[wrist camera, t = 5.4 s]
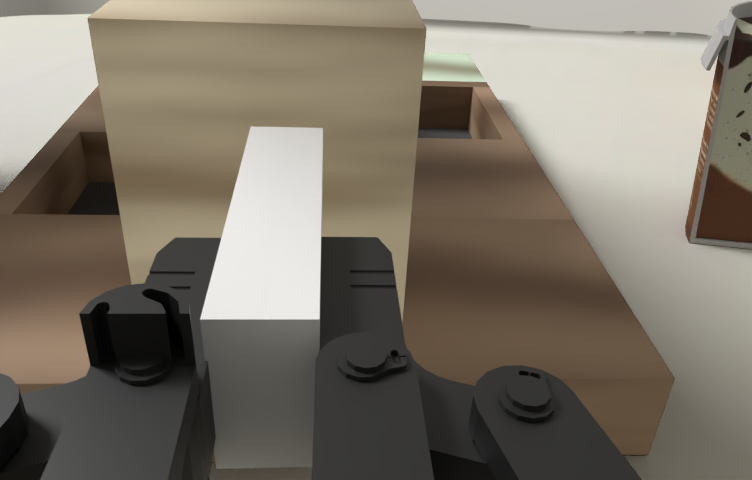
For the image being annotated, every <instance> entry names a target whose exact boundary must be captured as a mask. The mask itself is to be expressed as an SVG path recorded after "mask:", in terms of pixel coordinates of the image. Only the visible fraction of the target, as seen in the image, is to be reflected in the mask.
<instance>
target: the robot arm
mask: <svg viewBox="0 0 752 480" xmlns="http://www.w3.org/2000/svg"><path fill="white" fill-rule="evenodd" d="M322 206H323V128H301V127H253V126H251V127H250V131H249V135H248V139H247V143H246V146H245V150H244V154H243V158H242V162H241V165H240V169H239V173H238V177H237V181H236V184H235V188H234V192H233V196H232V200H231V203H230V207H229V211H228V215H227V219H226V222H225V226H224V230H223V234H222V238H182V237H175V238H174V239H173V240H172V241H171V242H169V243H168V244H167V245H166V246H165V247H163V248H162V249H161V250H160V251H159V252H157V254H156V256H155V259H154V261H153V263H152V266H151V268H150V271H149V275H148V276H147V278H146V281H145V283H142V284H133V285H125V286H122V287H119V288H116V289H112V290H109V291H106V292H104V293H103V294H101V295H99V296H98V297H96V298H94V299H93V300H91V301H89V303H88V304H87V305H86V306H85V307H84V308H83V310H82V311H81V312H80V313H79V316H80V320H81V325H82V329H83V334H84V339H85V343H86V348H87V352H88V357H89V362H90V368H89V370H88V372H87V375H86V376H84V377H82V378H80V379H78V380H76V381H72V382H69V383H66V384H62V385H59V386H55V387H50V388H46V389H41V390H37V391H32V392H28V393H24V394H21V393H20V390H19V387H18V386H17V384H16V383H15V382H14V381H13V380H12V378H11V377H9V376H7V375H4V374H1V373H0V480H210V479H209V472H210V466H211V461H212V455H213V450H214V455H215V465H216V469H242V468H305V467H312V480H642V479H641V478H640V477H639V476H638V474H637V473H636V472H635V470H634V469H633V468H632V467H631V465H630V464H629V463H628V461H627V460H626V459H625V458H624V456H623V455H622V454H621V452H620V451H619V450H618V449H617V447H616V446H615V445H614V443H613V442H612V441H611V439H610V438H609V437H608V436H607V434H606V433H605V432H604V430H603V429H602V428H601V427H600V425H599V424H598V423H597V421H596V420H595V419H594V418H593V416H592V415H591V414H590V412H589V411H588V410H587V409H586V407H585V406H584V405H583V403H582V402H581V401H580V399H579V398H578V397H577V396H576V394H575V393H574V392H573V391H572V390H571V389H570V388H569V387H568V386H567V385H566V384H565V383H564V382H563V381H561V380H560V379H559V378H557V377H555V376H553V375H551V374H549V373H547V372H545V371H543V370H541V369H537V368H532V367H528V366H523V365H513V366H501V367H498V368H495V369H493V370H490V371H487V372H486V373H485V374H484V375H483V376H482V377H481V378H480V379H479V380H478V381H477V382H476V386H473V385H469V384H465V383H460V382H456V381H452V380H449V379H446V378H442V377H439V376H437V375H435V374H433V373H431V372H429V371H427V370H425V369H424V368H423V367H421V366H420V365H419V364H418V363H417V362H415V361H414V359H413V357H412V355H411V352H410V351H409V350H408V349H407V347H406V344H405V339H404V333H403V326H402V319H401V312H400V306H399V299H398V292H397V289H396V279H395V274H394V266H393V259H392V253H391V252H390V250H389V249H388V248H387V247H386V246H385V245H384V244H383V243H382V242H381V240H380V239H379V238H378V237H322Z"/></svg>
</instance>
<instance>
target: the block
mask: <svg viewBox="0 0 752 480" xmlns="http://www.w3.org/2000/svg"><path fill="white" fill-rule="evenodd" d="M88 24H89V30H90V36H91V42H92V48H93V54H94V60H95V66H96V72H97V79H98V85H99V91H100V97H101V103H102V109H103V115H104V121H105V127H106V133H107V139H108V145H109V151H110V157H111V164H112V170H113V176H114V182H115V188H116V194H117V200H118V206H119V212H120V218H121V224H122V230H123V236H124V242H125V249H126V255H127V261H128V267H129V273H130V279H131V285H133V284H142V283H145V281H146V278H147V276H148V275H149V271H150V268H151V266H152V263H153V261H154V259H155V256H156V254H157V252H159V251H160V250H161V249H162V248H163V247H165V246H166V245H167V244H168V243H169V242H171V241H172V240H173V239H174V238H175V237H182V238H222V234H223V230H224V226H225V222H226V219H227V215H228V211H229V207H230V203H231V200H232V196H233V192H234V188H235V184H236V181H237V177H238V173H239V169H240V165H241V162H242V158H243V154H244V150H245V146H246V143H247V139H248V135H249V131H250V127H251V126H253V127H301V128H323V206H322V237H378V238H379V239H380V240H381V242H382V243H383V244H384V245H385V246H386V247H387V248H388V249H389V250H390V252H391V253H392V259H393V266H394V274H395V279H396V289H397V292H398V299H399V306H400V312H401V319H402V321H403V309H404V297H405V285H406V272H407V260H408V248H409V235H410V223H411V211H412V198H413V186H414V174H415V162H416V149H417V137H418V125H419V112H420V100H421V88H422V75H423V63H424V51H425V38H426V27H425V25H424V23H423V21H422V19H421V17H420V15H419V13H418V11H417V9H416V7H415V5H414V3H413V1H412V0H110V1H109V2H108V3H106V4H105V5H104V6H102V7H101V8H100V9H98V10H97V11H96V12H95V13H93V14H92V15H91V16H89V17H88Z"/></svg>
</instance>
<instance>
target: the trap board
mask: <svg viewBox="0 0 752 480" xmlns="http://www.w3.org/2000/svg"><path fill="white" fill-rule="evenodd" d="M125 285H131V279H130V273H129V267H128V261H127V255H126V249H125V242H124V236H123V230H122V224H121V218H120V212H119V206H118V200H117V194H116V188H115V182H114V176H113V170H112V164H111V157H110V151H109V145H108V139H107V133H106V127H105V121H104V115H103V109H102V103H101V97H100V91H99V85H98V86H97V88H96V89H95V90H94V91H93V92H92V93H91V94H90V95H89V96H88V98H87V99H86V100H85V101H84V102H83V103H82V104H81V105H80V106H79V108H78V109H77V110H76V111H75V112H74V113H73V114H72V115H71V117H70V118H69V119H68V120H67V121H66V122H65V123H64V124H63V125H62V127H61V128H60V129H59V130H58V131H57V132H56V133H55V134H54V135H53V137H52V138H51V139H50V140H49V141H48V142H47V143H46V144H45V145H44V147H43V148H42V149H41V150H40V151H39V152H38V153H37V154H36V156H35V157H34V158H33V159H32V160H31V161H30V162H29V163H28V164H27V166H26V167H25V168H24V169H23V170H22V171H21V172H20V173H19V174H18V176H17V177H16V178H15V179H14V180H13V181H12V182H11V183H10V184H9V186H8V187H7V188H6V189H5V190H4V191H3V192H2V193H1V194H0V373H1V374H4V375H7V376H9V377H11V378H12V380H13V381H14V382H15V383H16V384H17V386H18V387H19V390H20V393H21V394H24V393H28V392H32V391H37V390H41V389H46V388H50V387H55V386H59V385H62V384H66V383H69V382H72V381H76V380H78V379H80V378H82V377H84V376H86V375H87V372H88V370H89V368H90V362H89V357H88V352H87V348H86V343H85V339H84V334H83V329H82V325H81V320H80V316H79V313H80V312H81V311H82V310H83V308H84V307H85V306H86V305H87V304H88V303H89V301H91V300H93V299H94V298H96V297H98V296H99V295H101V294H103V293H104V292H106V291H109V290H112V289H116V288H119V287H122V286H125ZM402 326H403V333H404V339H405V344H406V347H407V349H408V350H409V351H410V352H411V355H412V357H413V359H414V361H415V362H417V363H418V364H419V365H420V366H421V367H423V368H424V369H425V370H427V371H429V372H431V373H433V374H435V375H437V376H439V377H442V378H446V379H449V380H452V381H456V382H460V383H465V384H469V385H473V386H476V382H477V381H478V380H479V379H480V378H481V377H482V376H483V375H484V374H485V373H486V372H487V371H490V370H493V369H495V368H498V367H501V366H513V365H523V366H528V367H532V368H537V369H541V370H543V371H545V372H547V373H549V374H551V375H553V376H555V377H557V378H559V379H560V380H561V381H563V382H564V383H565V384H566V385H567V386H568V387H569V388H570V389H571V390H572V391H573V392H574V393H575V394H576V396H577V397H578V398H579V399H580V401H581V402H582V403H583V405H584V406H585V407H586V409H587V410H588V411H589V412H590V414H591V415H592V416H593V418H594V419H595V420H596V421H597V423H598V424H599V425H600V427H601V428H602V429H603V430H604V432H605V433H606V434H607V436H608V437H609V438H610V439H611V441H612V442H613V443H614V445H615V446H616V447H617V449H618V450H619V451H620V452H621V454H622V455H648V453H649V450H650V447H651V444H652V442H653V439H654V436H655V433H656V430H657V427H658V424H659V422H660V419H661V416H662V413H663V410H664V407H665V405H666V402H667V399H668V396H669V393H670V390H671V388H672V385H673V382H674V379H675V378H674V376H673V375H672V373H671V372H670V370H669V369H668V367H667V365H666V364H665V362H664V361H663V359H662V358H661V356H660V354H659V353H658V351H657V350H656V348H655V347H654V345H653V343H652V342H651V340H650V339H649V337H648V336H647V334H646V332H645V331H644V329H643V328H642V326H641V325H640V323H639V321H638V320H637V318H636V317H635V315H634V314H633V312H632V310H631V309H630V307H629V306H628V304H627V303H626V301H625V299H624V298H623V296H622V295H621V293H620V292H619V290H618V288H617V287H616V285H615V284H614V282H613V281H612V279H611V277H610V276H609V274H608V273H607V271H606V270H605V268H604V266H603V265H602V263H601V262H600V260H599V259H598V257H597V255H596V254H595V252H594V251H593V249H592V248H591V246H590V244H589V243H588V241H587V240H586V238H585V237H584V235H583V233H582V232H581V230H580V229H579V227H578V226H577V224H576V222H575V221H574V219H573V218H572V216H571V215H570V213H569V211H568V210H567V208H566V207H565V205H564V204H563V202H562V200H561V199H560V197H559V196H558V194H557V193H556V191H555V189H554V188H553V186H552V185H551V183H550V182H549V180H548V178H547V177H546V175H545V174H544V172H543V170H542V169H541V167H540V166H539V164H538V163H537V161H536V159H535V158H534V156H533V155H532V153H531V152H530V150H529V148H528V147H527V145H526V144H525V142H524V141H523V139H522V137H521V136H520V134H519V133H518V131H517V130H516V128H515V126H514V125H513V123H512V122H511V120H510V119H509V117H508V115H507V114H506V112H505V111H504V109H503V108H502V106H501V104H500V103H499V101H498V100H497V98H496V97H495V95H494V93H493V92H492V90H491V89H490V87H489V86H488V84H487V82H486V81H485V79H484V78H483V76H482V75H481V73H480V71H479V70H478V68H477V67H476V65H475V64H474V62H473V60H472V59H471V57H470V56H469V54H442V53H424V63H423V75H422V88H421V100H420V112H419V125H418V137H417V149H416V162H415V174H414V186H413V198H412V211H411V223H410V235H409V248H408V260H407V272H406V285H405V297H404V309H403V321H402ZM211 462H215V455H214V450H213V455H212V461H211Z"/></svg>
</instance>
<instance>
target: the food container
mask: <svg viewBox="0 0 752 480" xmlns="http://www.w3.org/2000/svg"><path fill="white" fill-rule="evenodd" d="M718 54H719V55H718ZM717 56H718V60H717V65H716V70H715V75H714V81H713V86H712V91H711V96H710V101H709V107H708V112H707V117H706V122H705V127H704V133H703V138H702V143H701V148H700V153H699V159H698V164H697V169H696V174H695V179H694V185H693V190H692V195H691V200H690V205H689V211H688V216H687V221H686V226H685V228H686V236H687V238H688V241H689V243H697V244H706V245H716V246H726V247H736V248H745V249H752V1H748V2H743V3H739V4H736V5H734V6H732V7H731V9H730V10H729V13H728V16H727V18H726V19H724V20H722V21H720V23H719V24H718V26H717V28H716V30H715V32H714V33H713V35H712V37H711V39H710V41H709V43H708V45H707V47H706V49H705V51H704V53H703V55H702V57H701V62H702V65H703V66H704V68H705V69H706V70H709V71H710V69H711V67H712V65H713V63H714V61H715V60H716V58H717Z"/></svg>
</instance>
